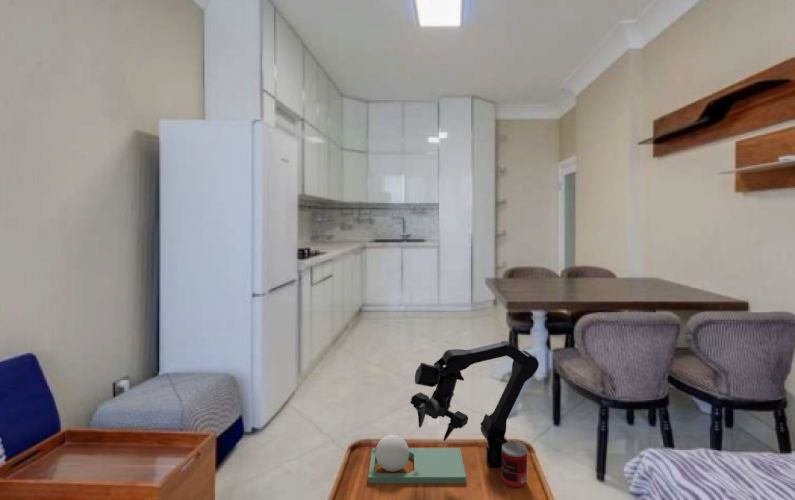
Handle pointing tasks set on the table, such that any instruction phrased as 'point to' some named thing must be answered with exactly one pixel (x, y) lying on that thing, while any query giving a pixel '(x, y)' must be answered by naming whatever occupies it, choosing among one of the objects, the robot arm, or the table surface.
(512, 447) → the canned food
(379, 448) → the ball
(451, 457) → the putting board
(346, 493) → the table surface
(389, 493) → the table surface
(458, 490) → the table surface
